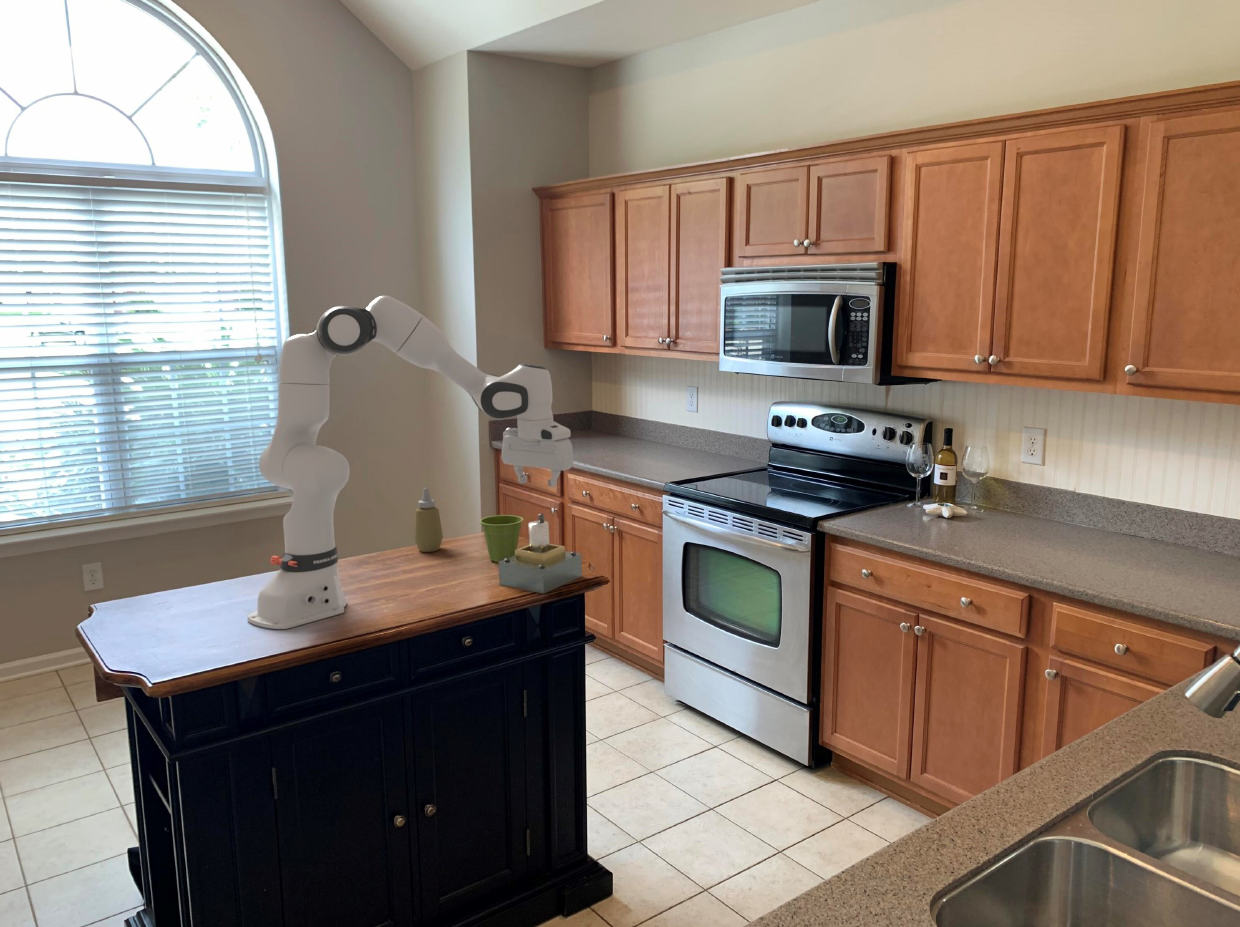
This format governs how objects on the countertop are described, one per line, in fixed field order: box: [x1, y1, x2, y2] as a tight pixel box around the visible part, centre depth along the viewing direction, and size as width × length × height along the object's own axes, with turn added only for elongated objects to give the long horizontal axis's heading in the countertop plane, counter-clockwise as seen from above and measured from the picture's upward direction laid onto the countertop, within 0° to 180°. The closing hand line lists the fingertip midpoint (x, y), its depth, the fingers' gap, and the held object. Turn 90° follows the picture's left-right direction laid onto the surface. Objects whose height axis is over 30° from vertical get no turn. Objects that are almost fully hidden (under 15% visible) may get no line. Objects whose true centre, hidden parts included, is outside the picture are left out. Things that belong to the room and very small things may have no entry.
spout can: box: [527, 513, 550, 553], centre depth 239 cm, size 5×5×11 cm
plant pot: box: [479, 514, 524, 564], centre depth 260 cm, size 12×12×11 cm
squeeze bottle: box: [413, 487, 444, 553], centre depth 270 cm, size 8×8×18 cm
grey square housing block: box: [498, 543, 583, 594], centre depth 241 cm, size 16×14×8 cm
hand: (537, 484), depth 237 cm, fingers open, 8 cm apart
